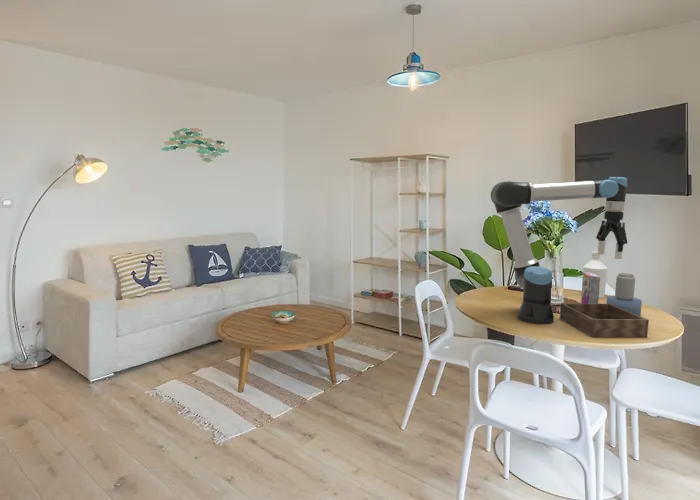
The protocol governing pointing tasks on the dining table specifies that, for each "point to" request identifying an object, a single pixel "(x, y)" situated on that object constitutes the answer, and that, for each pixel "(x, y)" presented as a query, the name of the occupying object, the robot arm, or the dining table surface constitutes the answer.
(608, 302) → the stand
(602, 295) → the bottle
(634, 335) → the crate
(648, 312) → the dining table surface
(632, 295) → the can
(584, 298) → the candy bar box
